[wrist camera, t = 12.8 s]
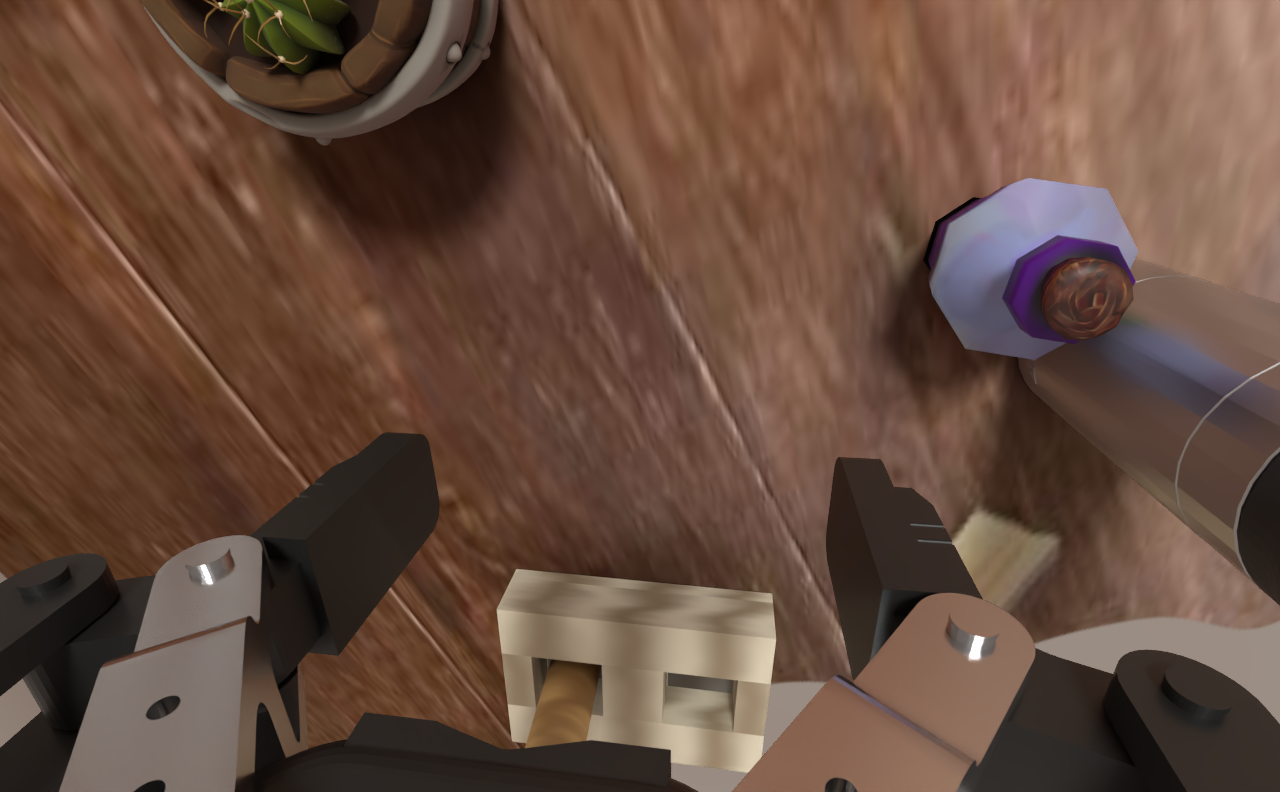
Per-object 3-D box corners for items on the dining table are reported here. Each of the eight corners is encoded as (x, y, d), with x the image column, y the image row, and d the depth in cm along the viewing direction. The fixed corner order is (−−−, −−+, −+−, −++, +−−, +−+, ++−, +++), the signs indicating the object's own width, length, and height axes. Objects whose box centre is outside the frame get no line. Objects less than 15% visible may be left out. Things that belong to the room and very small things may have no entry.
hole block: (772, 593, 46) (776, 639, 42) (756, 722, 51) (759, 774, 47) (516, 568, 48) (496, 609, 44) (528, 694, 54) (512, 741, 50)
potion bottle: (1062, 303, 35) (1214, 382, 24) (904, 335, 37) (977, 421, 26) (1060, 146, 32) (1234, 154, 21) (887, 190, 34) (963, 218, 23)
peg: (603, 636, 48) (573, 783, 37) (603, 673, 50) (573, 824, 39) (554, 631, 49) (509, 775, 38) (555, 668, 50) (513, 816, 39)
